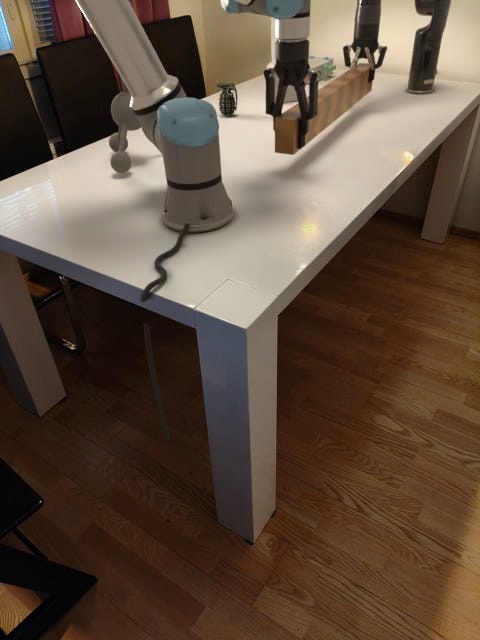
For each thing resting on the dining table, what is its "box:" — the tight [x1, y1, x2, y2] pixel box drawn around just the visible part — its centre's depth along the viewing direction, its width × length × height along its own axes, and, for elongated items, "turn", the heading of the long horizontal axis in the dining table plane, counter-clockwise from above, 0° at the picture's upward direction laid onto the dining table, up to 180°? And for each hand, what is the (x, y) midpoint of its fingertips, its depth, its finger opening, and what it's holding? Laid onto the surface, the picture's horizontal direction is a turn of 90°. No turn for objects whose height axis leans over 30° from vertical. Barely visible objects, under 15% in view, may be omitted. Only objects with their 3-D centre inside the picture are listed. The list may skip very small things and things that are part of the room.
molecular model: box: [108, 75, 142, 174], centre depth 130 cm, size 24×22×30 cm
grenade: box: [215, 82, 238, 117], centre depth 166 cm, size 7×6×10 cm
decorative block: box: [304, 55, 337, 85], centre depth 207 cm, size 26×6×20 cm
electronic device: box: [263, 17, 298, 103], centre depth 173 cm, size 12×8×30 cm, turn 105°
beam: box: [274, 62, 374, 156], centre depth 139 cm, size 66×5×8 cm, turn 152°
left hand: (290, 145), depth 121 cm, fingers closed on beam, 5 cm apart
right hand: (361, 81), depth 159 cm, fingers closed on beam, 5 cm apart
